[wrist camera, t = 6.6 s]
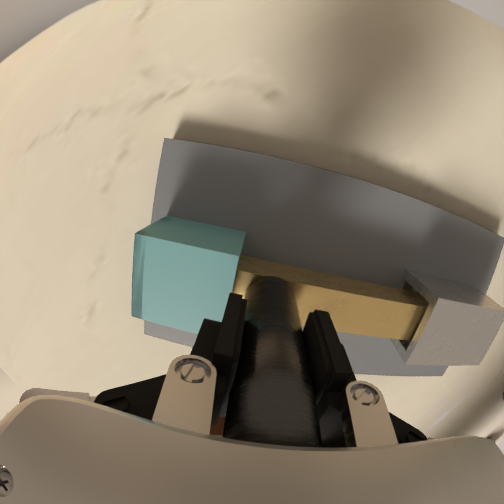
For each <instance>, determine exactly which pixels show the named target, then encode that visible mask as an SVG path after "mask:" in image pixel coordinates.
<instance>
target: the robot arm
mask: <svg viewBox="0 0 504 504" xmlns="http://www.w3.org/2000/svg"><path fill="white" fill-rule="evenodd" d="M242 297H243V295H240V294H236V293H231V292H230V293H229V297H228V301H227V304H226V308H225V312H224V315H223V319H222V322H219V321H214V320H210V319H206V318H204V320H203V322H202V325H201V327H200V330H199V333H198V335H197V338H196V341H195V343H194V346H193V349H192V351H191V354H190V355H182V356H180V357H177V358H175V359H174V360H173V361H172V362H171V364H170V366H169V369H168V372H167V374H165V375H162V376H159V377H155V378H152V379H148V380H144V381H141V382H137V383H133V384H129V385H125V386H121V387H117V388H113V389H109V390H106V391H103V392H101V393H100V394H99V395H98V396H97V397H91V396H89V393H80V392H68V391H57V390H48V389H41V388H32V389H30V390H27V391H26V392H25V393H23V395H22V396H21V398H20V402H19V404H18V405H17V406H15V407H14V408H13V409H12V410H11V411H10V412H9V413H8V414H7V415H6V416H5V417H4V418H3V419H2V420H1V421H0V504H504V455H503V453H502V452H501V450H500V449H499V448H498V446H497V445H496V444H495V443H494V442H493V441H491V440H489V439H486V438H483V437H477V436H453V437H446V438H439V439H434V438H430V437H429V438H428V439H427V438H426V436H425V435H424V434H423V433H422V432H421V431H419V430H418V429H416V428H415V427H413V426H411V425H409V424H408V423H406V422H404V421H403V420H401V419H399V418H398V417H396V416H395V415H393V414H391V413H390V412H388V409H387V406H386V403H385V400H384V398H383V395H382V393H381V391H380V390H379V389H378V388H377V387H376V386H374V385H373V384H371V383H368V382H365V381H356V378H355V375H354V372H353V370H352V367H351V364H350V361H349V359H348V356H347V353H346V351H345V348H344V346H343V344H341V343H340V340H339V338H338V335H337V332H336V330H335V327H334V324H333V322H332V319H331V317H330V314H329V312H327V311H322V310H316V309H315V310H314V312H310V313H309V314H308V317H307V320H306V323H305V326H304V328H303V336H304V341H305V346H306V351H307V357H308V362H309V367H310V373H311V378H312V384H313V389H314V395H315V401H316V406H317V412H318V418H319V424H320V430H321V437H322V443H323V448H319V447H296V446H282V445H272V444H263V443H255V442H247V441H240V440H234V439H228V438H222V437H217V436H212V435H210V427H211V426H213V425H215V424H217V423H218V419H219V416H220V417H224V416H225V413H226V409H227V404H228V397H229V392H230V390H231V388H232V386H233V382H234V378H235V374H236V370H237V366H238V362H239V357H240V351H241V343H242V336H243V328H244V321H245V313H246V306H247V299H242Z"/></svg>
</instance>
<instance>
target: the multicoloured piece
mask: <svg viewBox="0 0 504 504" xmlns="http://www.w3.org/2000/svg"><path fill="white" fill-rule="evenodd" d="M232 293H236V294H240V295H243V297H242V299H247V306H246V313H245V321H244V328H243V336H242V343H241V351H240V357H239V362H238V366H237V370H236V374H235V378H234V382H233V386H232V388H231V390H230V392H229V397H228V404H227V410H226V416H225V423H224V429H223V436H222V438H228V439H234V440H240V441H247V442H255V443H263V444H272V445H282V446H296V447H319V448H323V443H322V437H321V430H320V424H319V418H318V412H317V406H316V401H315V395H314V389H313V384H312V378H311V373H310V367H309V362H308V357H307V351H306V346H305V341H304V336H303V331H302V326H305V323H306V320H307V317H308V314H309V313H310V312H314V310H315V309H316V310H322V311H327V312H329V314H330V317H331V319H332V322H333V324H334V327H335V330H336V331H337V332H344V333H351V334H358V335H366V336H374V337H382V338H391V339H400V340H410V341H412V339H413V337H414V335H415V333H416V331H417V329H418V327H419V325H420V323H421V321H422V318H423V316H424V314H425V312H426V310H427V308H428V305H429V302H428V301H427V300H426V299H425V298H424V297H423V296H422V295H421V294H420V293H419V292H414V291H410V290H405V289H400V288H395V287H390V286H385V285H381V284H376V283H371V282H366V281H362V280H357V279H352V278H347V277H342V276H338V275H333V274H328V273H324V272H319V271H314V270H309V269H305V268H300V267H295V266H291V265H286V264H281V263H277V262H272V261H267V260H263V259H258V258H253V257H249V256H244V255H240V258H239V262H238V266H237V271H236V276H235V280H234V285H233V290H232Z"/></svg>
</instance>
